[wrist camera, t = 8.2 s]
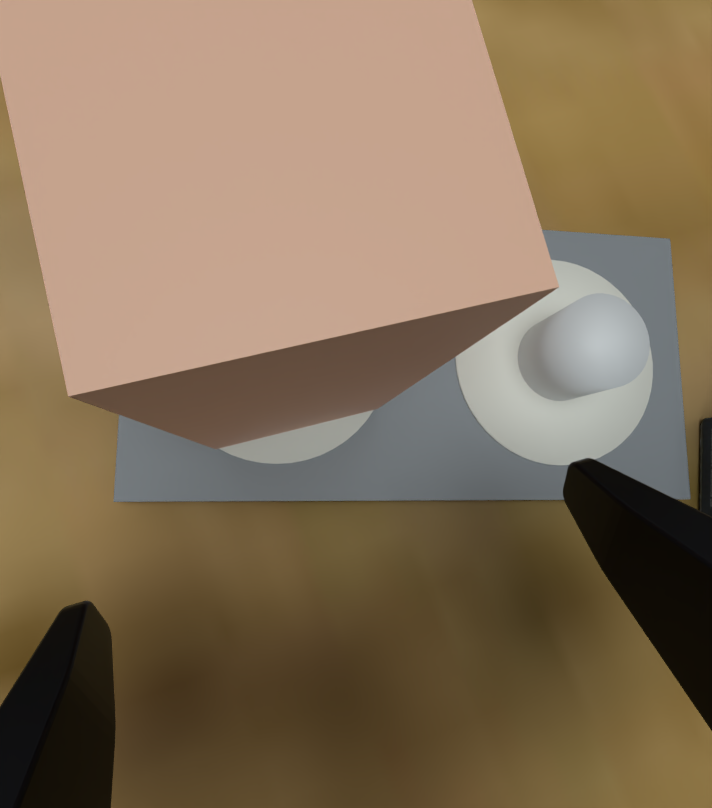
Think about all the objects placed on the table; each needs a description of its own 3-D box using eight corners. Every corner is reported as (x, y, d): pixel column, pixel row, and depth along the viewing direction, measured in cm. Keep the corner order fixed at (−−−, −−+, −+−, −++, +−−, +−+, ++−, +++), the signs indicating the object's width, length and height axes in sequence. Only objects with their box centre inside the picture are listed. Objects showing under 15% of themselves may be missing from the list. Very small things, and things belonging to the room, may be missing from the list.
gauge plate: (670, 497, 20) (764, 503, 16) (123, 500, 18) (77, 508, 14) (652, 249, 22) (734, 199, 18) (140, 215, 19) (102, 147, 15)
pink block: (377, 408, 18) (559, 286, 6) (215, 449, 17) (68, 397, 5) (336, 257, 18) (434, -122, 7) (177, 288, 18) (-34, -86, 6)
